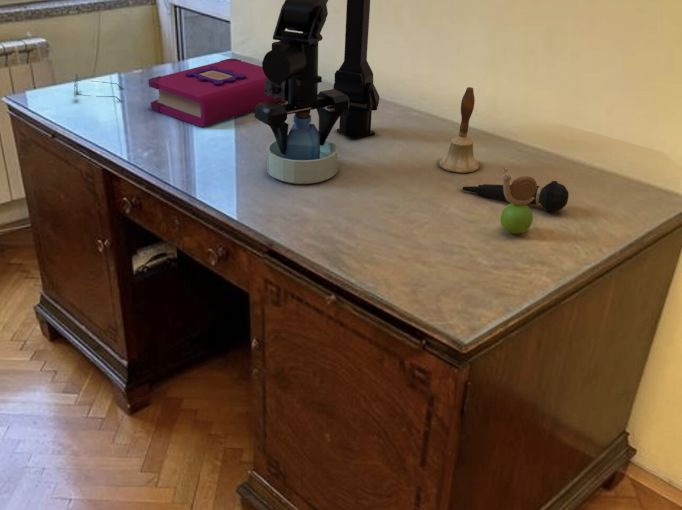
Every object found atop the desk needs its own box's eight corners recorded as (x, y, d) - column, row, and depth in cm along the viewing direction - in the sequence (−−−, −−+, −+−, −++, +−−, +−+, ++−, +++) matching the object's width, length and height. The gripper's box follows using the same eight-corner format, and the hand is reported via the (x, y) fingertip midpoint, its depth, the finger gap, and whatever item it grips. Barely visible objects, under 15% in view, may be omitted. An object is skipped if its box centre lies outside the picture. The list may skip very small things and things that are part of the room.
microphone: (459, 208, 150) (564, 220, 141) (456, 185, 146) (563, 195, 137) (469, 191, 153) (572, 201, 144) (466, 167, 149) (572, 176, 139)
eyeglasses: (121, 87, 203) (119, 68, 201) (120, 102, 193) (118, 82, 190) (77, 89, 202) (74, 70, 199) (74, 104, 192) (71, 84, 189)
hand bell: (454, 155, 165) (463, 79, 156) (487, 165, 161) (498, 88, 151) (430, 165, 161) (439, 87, 152) (463, 176, 156) (474, 97, 147)
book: (289, 102, 194) (289, 71, 190) (204, 129, 178) (202, 96, 173) (232, 84, 206) (231, 55, 202) (148, 108, 189) (145, 77, 185)
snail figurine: (489, 225, 138) (499, 161, 131) (524, 224, 138) (536, 160, 131) (497, 239, 133) (509, 173, 126) (534, 238, 134) (547, 172, 127)
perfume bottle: (314, 175, 155) (315, 117, 147) (283, 173, 156) (283, 114, 148) (319, 163, 159) (320, 106, 152) (290, 161, 160) (290, 103, 153)
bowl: (312, 154, 166) (312, 131, 163) (350, 176, 156) (351, 152, 153) (254, 167, 159) (253, 143, 156) (290, 191, 150) (290, 166, 147)
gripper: (320, 53, 156) (318, 129, 165) (239, 66, 147) (242, 145, 156) (352, 66, 148) (349, 145, 157) (268, 81, 140) (270, 163, 149)
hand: (302, 149), depth 155 cm, fingers closed on perfume bottle, 9 cm apart
